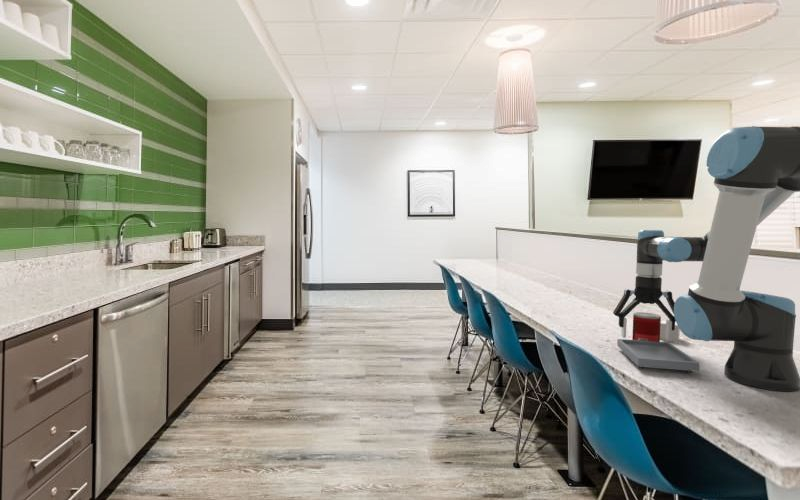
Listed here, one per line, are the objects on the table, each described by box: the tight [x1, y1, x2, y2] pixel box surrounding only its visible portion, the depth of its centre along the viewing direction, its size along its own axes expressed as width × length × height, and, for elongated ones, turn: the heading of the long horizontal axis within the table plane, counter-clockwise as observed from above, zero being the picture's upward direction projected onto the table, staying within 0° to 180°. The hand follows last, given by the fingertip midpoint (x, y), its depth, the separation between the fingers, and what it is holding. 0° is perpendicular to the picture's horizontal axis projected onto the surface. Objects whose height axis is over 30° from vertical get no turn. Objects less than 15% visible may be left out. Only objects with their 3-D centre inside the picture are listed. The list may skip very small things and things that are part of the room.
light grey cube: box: [660, 319, 681, 343], centre depth 150 cm, size 6×6×6 cm
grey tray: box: [616, 338, 700, 373], centre depth 124 cm, size 21×15×4 cm
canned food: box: [631, 312, 662, 342], centre depth 140 cm, size 8×8×11 cm
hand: (645, 338), depth 140 cm, fingers open, 13 cm apart
